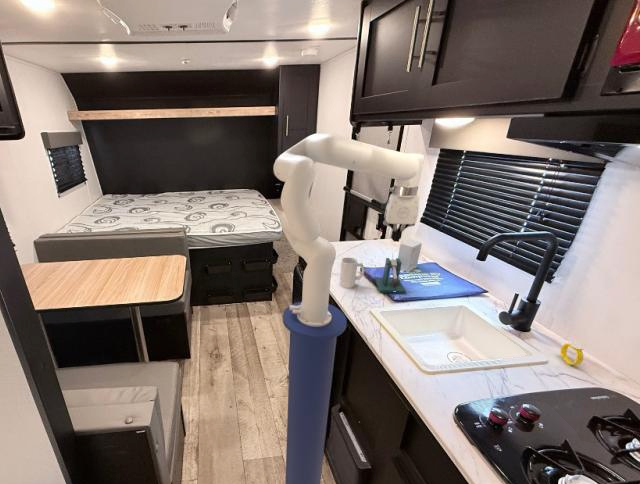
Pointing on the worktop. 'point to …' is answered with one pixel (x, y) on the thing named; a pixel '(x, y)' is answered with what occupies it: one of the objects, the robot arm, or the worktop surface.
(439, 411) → the worktop surface
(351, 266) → the mug
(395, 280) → the toaster lever
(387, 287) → the toaster bracket
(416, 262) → the small box
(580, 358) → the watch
